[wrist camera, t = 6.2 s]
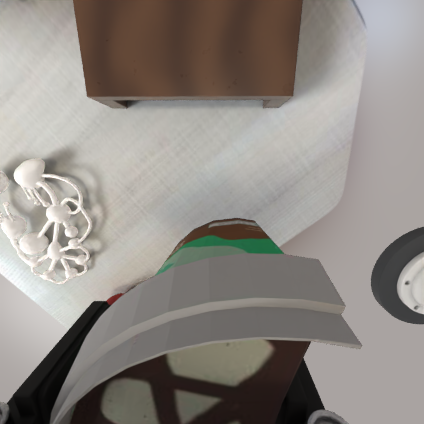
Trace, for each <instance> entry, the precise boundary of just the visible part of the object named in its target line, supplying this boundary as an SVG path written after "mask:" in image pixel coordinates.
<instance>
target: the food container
mask: <svg viewBox="0 0 424 424" xmlns="http://www.w3.org/2000/svg"><path fill="white" fill-rule="evenodd" d="M345 307H346V306H345V304H344V302H343V301H342V299H341V297H340V295H339V294H338V292H337V290H336V289H335V287H334V285H333V283H332V282H331V280H330V278H329V277H328V275H327V273H326V272H325V270H324V268H323V266H322V265H321V263H320V261H319V260H318V259H311V258H305V257H299V256H292V255H286V254H284V253H283V252H282V251H281V250H280V248H279V247H278V246H277V245H276V244H275V243H274V242H273V241H272V240H271V239H270V237H269V236H268V235H267V234H266V233H265V232H264V231H263V230H262V229H261V228H260V226H259V225H258V224H257V223H256V222H255V221H253V220H247V219H240V218H233V219H224V220H215V221H212V222H210V223H207V224H205V225H203V226H200V227H198V228H196V229H194V230H193V231H191V232H190V233H189V234H188V235H187V236H186V237H185V238H184V239H183V240H181V241H180V242H179V243H178V245H177V246H176V247H175V249H174V250H173V252H172V253H171V254H170V256H169V257H168V259H167V260H166V261H165V263H164V264H163V265H162V267H161V268H160V270H159V271H158V272H157V274H156V275H155V276H154V277H152V278H149V279H147V280H145V281H144V282H142V283H141V284H139V285H137V286H136V287H134V288H133V289H131V290H130V291H128V292H127V293H125V294H124V295H122V296H121V297H120V298H119V299H118V300H117V301H115V302H114V303H113V304H112V305H111V306H110V307H109V308H108V309H107V310H106V311H105V312H104V313H103V314H102V315H101V316H100V317H99V319H98V320H97V322H96V323H95V325H94V326H93V327H92V329H91V330H90V332H89V333H88V335H87V336H86V338H85V340H84V342H83V344H82V346H81V348H80V351H79V353H78V355H77V357H76V359H75V361H74V363H73V365H72V367H71V369H70V371H69V374H68V376H67V378H66V380H65V382H64V384H63V386H62V388H61V390H60V393H59V395H58V398H57V400H56V402H55V405H54V407H53V409H52V413H51V419H50V424H275V422H276V419H277V416H278V413H279V410H280V407H281V405H282V402H283V400H284V398H285V396H286V394H287V391H288V389H289V387H290V385H291V383H292V381H293V378H294V376H295V374H296V372H297V370H298V368H299V366H300V363H301V361H302V359H303V357H304V355H305V353H306V351H307V349H308V347H309V345H310V343H311V341H314V342H320V343H326V344H332V345H338V346H344V347H350V348H356V349H361V347H362V344H361V343H360V341H359V340H358V339H357V337H356V336H355V334H354V333H353V331H352V330H351V329H350V327H349V326H348V324H347V323H346V321H345V320H344V319H343V317H342V316H341V314H342V312H343V311H344V309H345Z"/></svg>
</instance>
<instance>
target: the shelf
mask: <svg viewBox="0 0 424 424" xmlns="http://www.w3.org/2000/svg"><path fill="white" fill-rule="evenodd" d="M302 1H303V0H73V3H74V10H75V17H76V23H77V30H78V37H79V44H80V51H81V58H82V64H83V71H84V78H85V85H86V92H87V97H89V98H91V99H94V100H96V101H98V102H100V103H102V104H105V105H107V106H109V107H111V108H127V101H126V100H263V108H278V107H279V106H281V105H282V104H283V103H284V102H286V101H287V100H288V99H290V98H291V97H292V96H293V91H294V81H295V71H296V61H297V51H298V41H299V31H300V21H301V11H302Z"/></svg>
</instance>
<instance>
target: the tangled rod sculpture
mask: <svg viewBox="0 0 424 424" xmlns="http://www.w3.org/2000/svg"><path fill="white" fill-rule="evenodd" d="M44 168H45V163H44V161H43V160H42V159H40V158H34V159H28V160H26V161H24V162H23V163H22V164H21V165H20V166H19V167H17V168H16V170H15V171H14V179H15V181H16V182H17V183H18V184H19V185H21V187H22V189H23V191H24V192H25V194H26V195H27V199H28V200H34V201H35V202H34V204H35V205H36V206H39V205H40V204H41V202H42V203H43V206H44V207H48V206H49V205H50V204H49V202H45V201H44V200H43V199H42V198H41V196H40V195H39V193H38V191H37V190H36V188H39V187H42V188H44V189H45V190H46V191H47V193H48V194H49V196H50V198H51V200H52V203H53V204H51V205H50V206H49V207H48V208H47V210H46V215H47V217H48V219H49V220H48V221H47V223H46V224H45V226H44V227H43V228H42V230H41V231H40V233H38V232H32V233H29V234H26V235H25V236H23V237H22V238H21V240H20V243H18V241H17V238H19V237H20V236H21V235H22V234H24V232H25V231H26V229H27V222H26V220H25V219H24V218H22V217H21V216H18V215H11V213H10V212H9V209H8V206H9V203H8V202H4V203H3V206H5V209H6V212H7V214H8V216H6V217H5V216H4V215H3V214H2V213H1V212H0V224H1V227H2V229H3V231H4V232H5V233H6V235H7V236H8V238H10V240H11V244H12V245H13V246H14V247H15V249H16V251H17V253H18V255H19V257H20V258H21V259H22V260H23V261H24V262H25V263H27V264H29V265H30V266H31V271H32V272H33V273H34V274H36V275H37V276H40V277H43V279H44V280H50V281H52V282H53V283H56V284H63V283H66V282H67V281H68V280H69V279H71V278H74V277H76V276H79V275H83V274H85V273H86V272H87V270H88V267H87V264H86V263H87V261H88V260H89V257H90V254H89V252H88V250H87V249H86V248H84V247H83V246H81V244H82V241H83V240H84V239H85V238H86V237H87V235H88V234H89V233H90V231H91V229H92V221H91V218H90V217H89V215H88V214H87V212H86V211H85V209H84V208H83V207H82V205H83V196H82V193H81V191H80V189H79V187H78V186H77V185H76V184H75V183H73V182H72V181H71V180H69V179H66V178H64V177H62V176H58V175H54V174H44ZM44 177H52V178H57V179H60V180H63V181H65V182H68V183H69V184H70V185H72V186H73V187H74V188H75V189H76V190H77V193H78V195H79V202H78V201H76V200H75V199H73V198H65V199H64V200H63V201H62V202H61V203H59V202H58V199H57V196H56V194H55V192H54V191H53V190H52V188H51V187H50V186H49V185H47V184H46V183H45V182H44ZM8 186H9V179H8V177H7V176H6V174H5V173H3V172H2V171H1V170H0V193H2V192H4V191H5V190H6V189H7V188H8ZM26 188H27V189H28V191H27V190H26ZM31 189H33V191H34V193H35V194H36V196H37V197H38V199H39V200H40V201H41V202H40V201H38V200H37V199H36V197H35V196H34V195H33V192H32V190H31ZM67 201H72V202H73V203H75V204H76V205H77V206H78V208H77V210H75V211H71V209H70V207H69V206H68V205H66V204H65V203H66V202H67ZM80 210H81V211H82V212H83V214H84V216H85V217H86V219H87V220H88V222H89V226H88V229H87V231H86V233H85V234H84V235H83V237H82V238H80V239H78V238H73V239H71V240H70V241H69V243H68V246H66V247H63V248H62V247H61V245H60V244H59V242H57V240H58V232H59V224H60V223H63V224H64V226H65V227H66V229H65V235H66V236H67V237H75V236H76V235H77V234H78V229H77V228H76V227H74V226H70V225H69V223H68V222H67V220H68V219H69V218H70V217H71V214H77V213H78V212H79V211H80ZM52 222H55V226H54V234H53V242H52V243H51V244H50V245H49V247H48V249H47V253H48V254H46V255H44V256H42V257H40V256H34V257H31V258H30V259H29V258H28V257H27V256H26V255H25V253H27V254H38V253H41V252H43V251H44V250H45V249H46V248H47V246H48V238H47V237H46V236H45V235H44V234H45V232H46V231H47V229H48V228H49V226H50V225H51V223H52ZM78 248H80V249H82V250H83V251H85V252H86V254H87V256H86V255H84V254H81V255H79V256H77V257H76V256H70V255H65V251H66V250H68V249H78ZM24 252H25V253H24ZM47 258H50V259H52V260H53V261H52V263H51V265H50V267H49V270H46V271H45V272H44V273H43V274H41V273H38V272H37V271H36V270H35V269H34V267H38V266H40V265H41V264H42V263H43V260H45V259H47ZM59 259H60V260H61V262H62V264H63V266H64V268H65V270H66V272H65V276H66V277H67V279H65V280H64V281H56V280H54V279H53V278H54V277H55V276H56V272H55V271H54V270H53V269H54V267H55V265H56V262H57V260H59ZM66 259H71V260H76V263H77V264H78V265H84V267H85V270H84V271H83V272H81V273H78V271H77V269H75V268H70V267H69V265H68V263H67V261H66Z"/></svg>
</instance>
